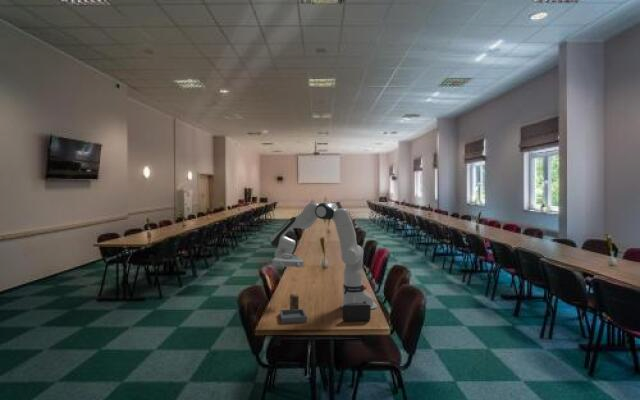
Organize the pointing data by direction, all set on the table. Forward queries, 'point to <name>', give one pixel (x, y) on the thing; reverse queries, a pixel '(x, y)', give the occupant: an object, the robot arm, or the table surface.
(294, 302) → the walnut block
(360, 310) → the blue scroll wheel mouse
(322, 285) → the table surface
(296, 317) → the tray
